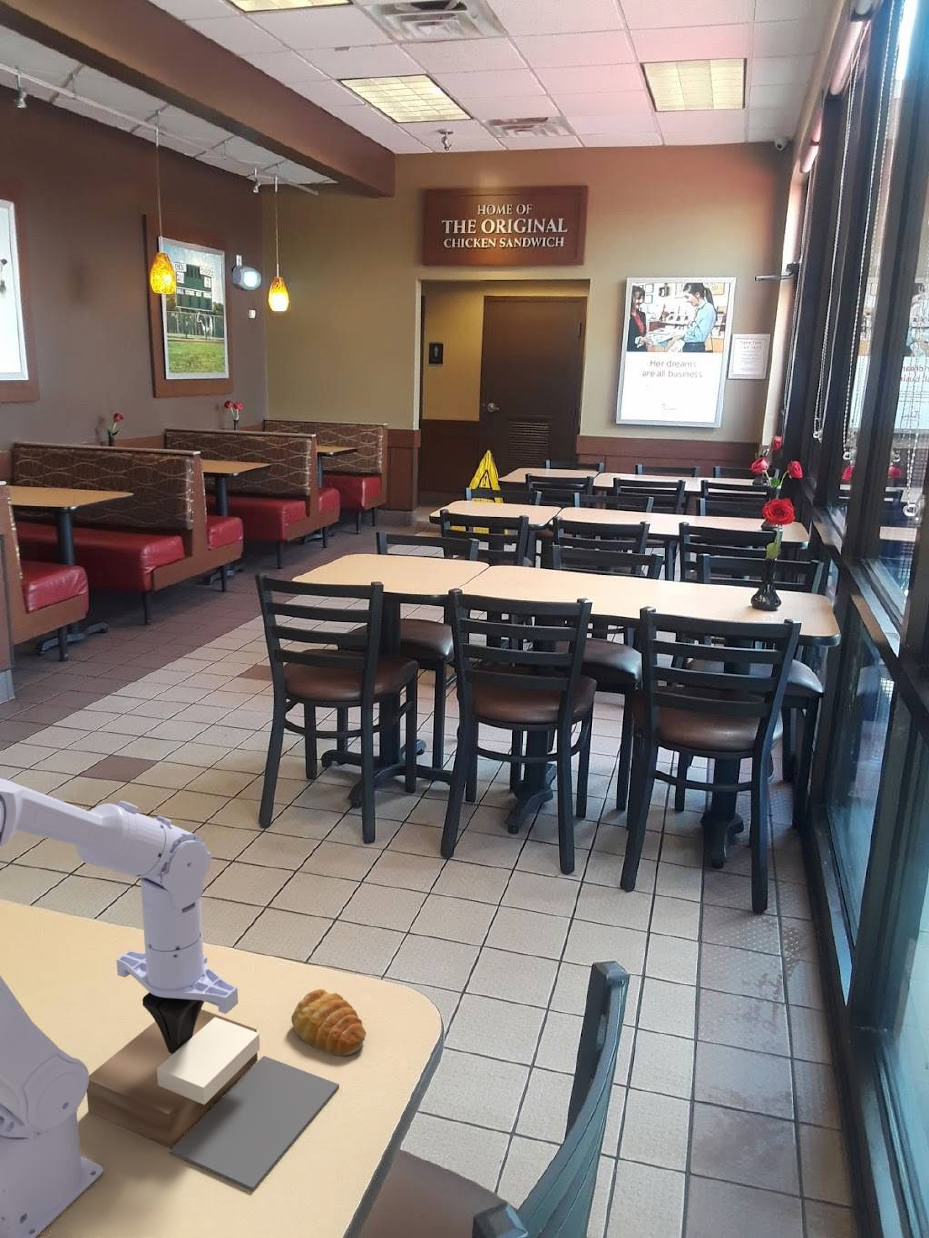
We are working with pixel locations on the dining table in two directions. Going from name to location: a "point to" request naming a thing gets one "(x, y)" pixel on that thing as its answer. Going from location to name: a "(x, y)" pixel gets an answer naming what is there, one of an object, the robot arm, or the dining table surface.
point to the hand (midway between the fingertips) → (180, 1048)
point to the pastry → (328, 1023)
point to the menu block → (208, 1060)
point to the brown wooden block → (149, 1088)
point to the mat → (255, 1122)
